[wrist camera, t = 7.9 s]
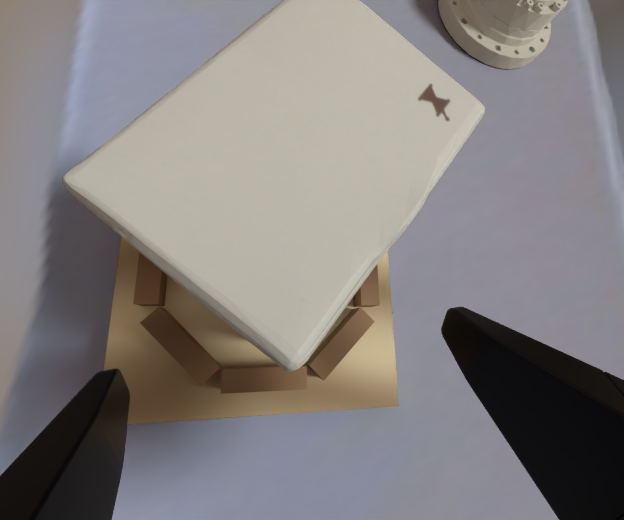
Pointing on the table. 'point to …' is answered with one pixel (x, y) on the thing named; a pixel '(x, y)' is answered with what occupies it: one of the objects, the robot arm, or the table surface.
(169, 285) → the board
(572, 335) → the table surface
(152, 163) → the skincare box
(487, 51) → the mechanical component
